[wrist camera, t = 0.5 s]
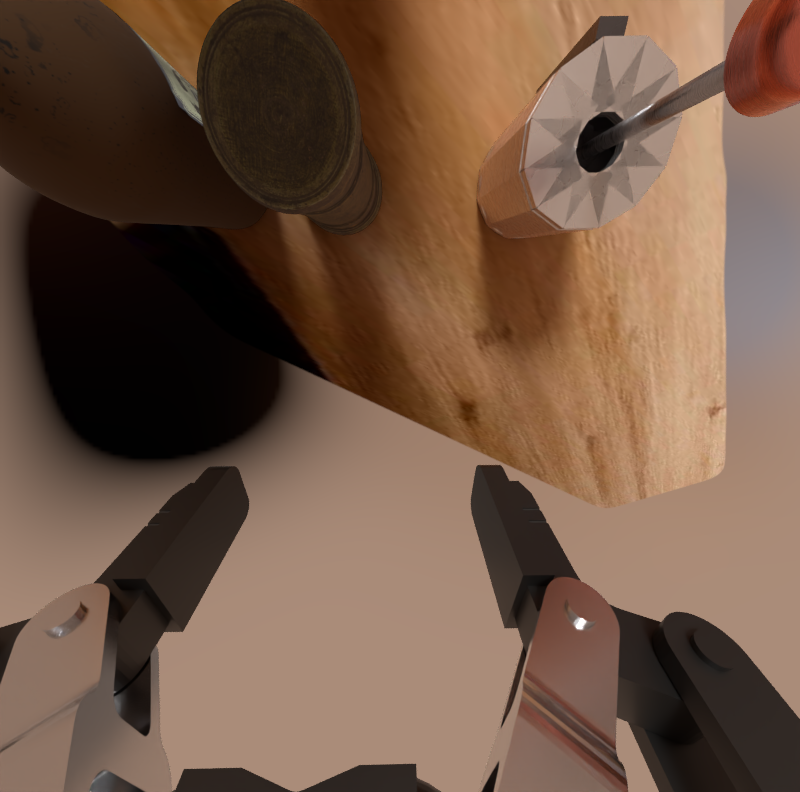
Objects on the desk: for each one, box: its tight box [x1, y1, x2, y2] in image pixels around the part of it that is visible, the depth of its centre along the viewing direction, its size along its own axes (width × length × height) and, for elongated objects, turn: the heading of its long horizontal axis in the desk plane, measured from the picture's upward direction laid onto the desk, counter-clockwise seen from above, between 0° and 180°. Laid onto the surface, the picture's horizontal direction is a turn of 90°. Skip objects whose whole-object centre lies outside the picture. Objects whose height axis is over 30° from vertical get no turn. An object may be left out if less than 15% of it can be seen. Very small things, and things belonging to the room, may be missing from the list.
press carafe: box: [477, 16, 682, 239], centre depth 25 cm, size 12×10×13 cm
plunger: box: [576, 0, 800, 173], centre depth 15 cm, size 7×7×17 cm
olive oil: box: [0, 0, 267, 229], centre depth 19 cm, size 11×11×25 cm
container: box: [197, 0, 382, 235], centre depth 23 cm, size 9×9×18 cm
